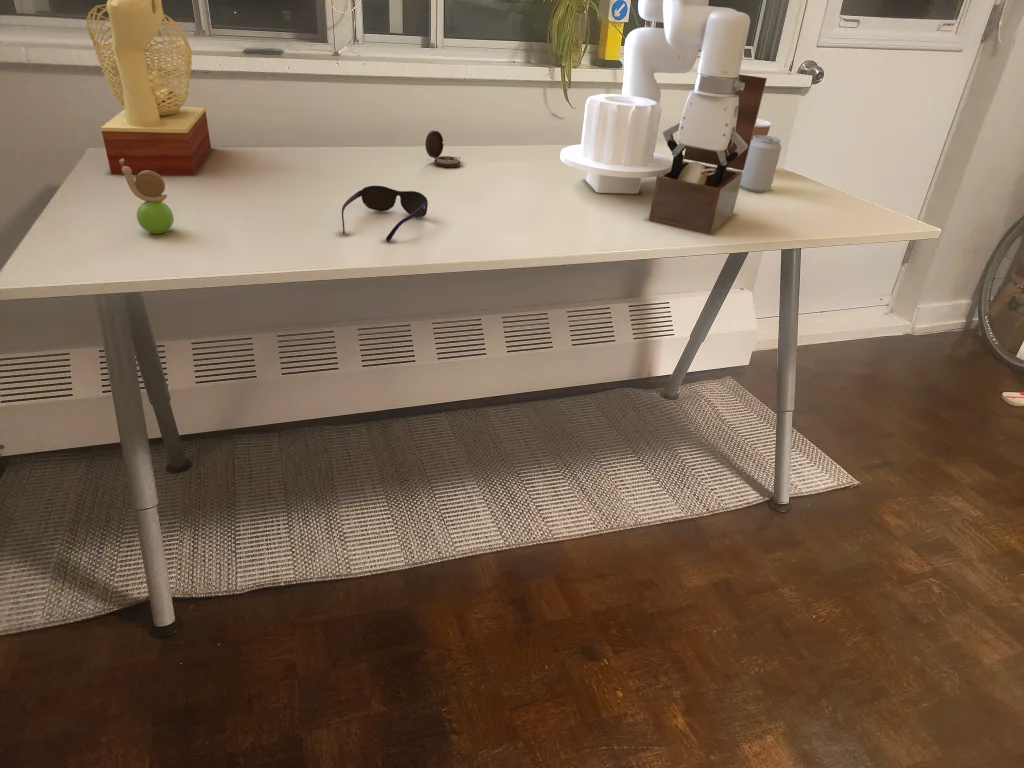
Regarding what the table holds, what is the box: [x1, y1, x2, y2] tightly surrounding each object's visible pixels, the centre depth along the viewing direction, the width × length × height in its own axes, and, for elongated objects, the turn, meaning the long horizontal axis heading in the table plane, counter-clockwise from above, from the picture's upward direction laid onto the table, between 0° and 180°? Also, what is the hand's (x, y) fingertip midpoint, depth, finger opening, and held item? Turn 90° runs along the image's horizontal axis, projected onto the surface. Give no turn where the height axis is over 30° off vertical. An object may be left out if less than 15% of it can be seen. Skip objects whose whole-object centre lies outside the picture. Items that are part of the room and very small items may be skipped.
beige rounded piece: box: [678, 161, 716, 185], centre depth 141 cm, size 4×8×5 cm, turn 26°
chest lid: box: [683, 73, 768, 170], centre depth 146 cm, size 18×13×6 cm
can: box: [740, 135, 782, 193], centre depth 167 cm, size 8×8×12 cm
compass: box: [424, 129, 462, 168], centre depth 168 cm, size 8×8×7 cm
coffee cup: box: [728, 118, 773, 172], centre depth 184 cm, size 10×10×12 cm
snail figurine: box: [119, 158, 174, 235], centre depth 116 cm, size 5×6×12 cm
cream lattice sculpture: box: [85, 0, 212, 176], centre depth 146 cm, size 25×18×35 cm
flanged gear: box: [559, 93, 673, 195], centre depth 158 cm, size 25×25×19 cm
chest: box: [648, 160, 743, 235], centre depth 145 cm, size 17×13×9 cm
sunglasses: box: [341, 185, 429, 242], centre depth 128 cm, size 14×16×5 cm
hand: (696, 179), depth 141 cm, fingers closed on beige rounded piece, 7 cm apart
